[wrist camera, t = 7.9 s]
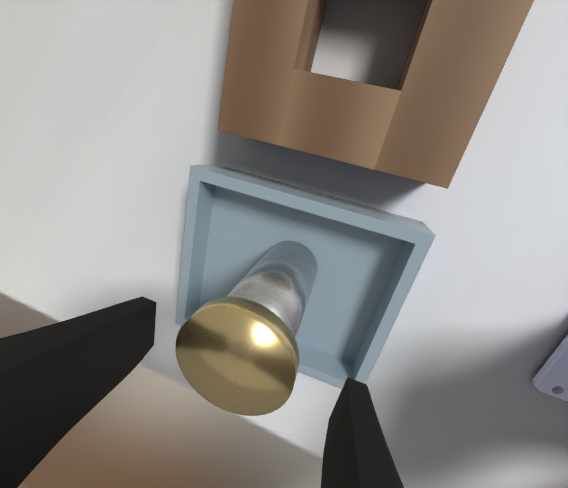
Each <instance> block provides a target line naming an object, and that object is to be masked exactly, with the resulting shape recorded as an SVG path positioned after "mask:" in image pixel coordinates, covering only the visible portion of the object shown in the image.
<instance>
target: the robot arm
mask: <svg viewBox="0 0 568 488" xmlns="http://www.w3.org/2000/svg"><path fill="white" fill-rule="evenodd" d="M155 316H156V302H154V301H152V300H149V299H147V298H144V297H140V298H136V299H132V300H129V301H126V302H123V303H119V304H116V305H113V306H110V307H107V308H104V309H101V310H98V311H95V312H91V313H88V314H85V315H82V316H79V317H76V318H72V319H69V320H66V321H62V322H59V323H55V324H52V325H49V326H45V327H41V328H38V329H34V330H31V331H28V332H24V333H20V334H16V335H12V336H8V337H4V338H0V488H17V487H18V486H19V485H20V484H21V483H22V482H23V480H24V479H25V478H26V477H27V476H28V475H29V474H30V472H31V471H32V470H33V469H34V468H35V467H36V466H37V465H38V464H39V463H40V461H41V460H42V459H43V458H44V457H45V456H46V455H47V453H48V452H49V451H50V450H51V449H52V448H53V447H54V446H55V445H56V444H57V443H58V441H59V440H61V439H62V438H63V437H64V435H65V434H66V433H67V432H68V431H69V430H70V429H71V428H72V427H73V426H74V425H76V423H78V422H79V421H80V420H81V419H82V418H83V417H84V416H85V415H86V414H87V413H88V412H89V411H90V410H91V409H92V408H93V407H94V406H96V405H97V403H99V402H100V401H101V400H102V399H103V398H104V397H105V396H106V395H107V394H108V393H109V392H110V391H111V390H112V389H114V388H115V387H116V386H117V385H118V384H119V383H120V382H121V381H122V380H123V379H124V378H125V377H126V376H127V375H128V374H129V373H130V372H131V371H132V370H133V369H134V368H135V367H136V366H137V365H138V363H139V362H140V361H141V360H142V359H143V358H144V356H145V355H146V354H147V353H148V351H149V350H150V349H151V348H152V347H153V345H154V333H155ZM532 382H533V385H534V386H535V387H536V389H537V390H538V391H540V392H542V393H545V394H547V395H550V396H553V397H556V398H559V399H561V400H564V401H567V402H568V335H567V336H566V337H565V339H564V340H563V341H562V342H561V344H560V345H559V346H558V347H557V349H556V350H555V351H554V353H553V354H552V355H551V356H550V358H549V359H548V360H547V361H546V363H545V364H544V365H543V367H542V368H541V369H540V370H539V372H538V373H537V374H536V376H535V377H534V378H533V380H532ZM556 386H558V387H557V388H554V387H556ZM321 488H404V487H403V484H402V482H401V479H400V477H399V475H398V472H397V470H396V467H395V464H394V462H393V459H392V456H391V454H390V451H389V449H388V446H387V443H386V441H385V438H384V435H383V432H382V429H381V427H380V424H379V421H378V418H377V415H376V412H375V409H374V406H373V402H372V399H371V396H370V393H369V389H368V387H367V385H366V384H364V383H362V382H359V381H357V380H354V379H351V378H349V377H347V379H346V381H345V384H344V386H343V388H342V391H341V393H340V395H339V398H338V400H337V402H336V405H335V407H334V409H333V412H332V414H331V416H330V418H329V423H328V429H327V435H326V441H325V447H324V454H323V466H322V480H321Z"/></svg>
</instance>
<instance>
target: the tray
mask: <svg viewBox="0 0 568 488" xmlns="http://www.w3.org/2000/svg"><path fill="white" fill-rule="evenodd" d="M434 238H435V234H434V233H433V232H432V231H431V230H430V229H429V228H428V227H427V226H426V225H425V224H424V223H423V222H421V221H417V220H413V219H410V218H406V217H403V216H399V215H395V214H392V213H388V212H385V211H381V210H378V209H374V208H370V207H367V206H363V205H360V204H356V203H352V202H349V201H345V200H342V199H338V198H334V197H331V196H327V195H324V194H320V193H316V192H313V191H309V190H306V189H302V188H298V187H295V186H291V185H288V184H284V183H281V182H277V181H273V180H270V179H266V178H263V177H259V176H255V175H252V174H248V173H245V172H241V171H237V170H234V169H230V168H227V167H223V166H219V165H216V164H210V165H195V166H190V176H189V186H188V197H187V207H186V218H185V228H184V239H183V249H182V260H181V270H180V281H179V291H178V302H177V312H176V324H179V325H181V326H183V325H184V323H185V322H186V321H187V320H188V319H189V318H190V317H191V316H192V315H193V314H194V313H195V312H196V311H197V310H198V309H199V308H201V307H202V306H203V305H204V304H206V303H207V302H209V301H211V300H214V299H217V298H222V297H226V296H227V295H228V294H229V293H230V292H231V291H232V290H233V289H234V288H235V287H236V285H237V284H238V283H239V282H240V281H241V280H242V279H243V278H244V277H245V276H246V275H247V273H248V272H249V271H250V270H251V269H252V268H253V267H254V266H255V265H256V264H257V262H258V261H259V260H260V259H261V258H262V257H263V256H264V255H265V254H266V253H267V251H268V250H269V249H270V248H271V247H272V246H273V245H275V244H277V243H279V242H282V241H295V242H298V243H301V244H303V245H305V246H306V247H307V248H308V249H310V251H311V252H312V253H313V255H314V256H315V258H316V261H317V265H318V271H317V276H316V279H315V282H314V285H313V288H312V291H311V294H310V297H309V300H308V303H307V306H306V309H305V312H304V315H303V318H302V321H301V324H300V327H299V330H298V333H297V336H296V339H295V340H296V343H297V346H298V350H299V358H300V359H299V368H298V372H300V373H303V374H305V375H308V376H310V377H313V378H315V379H318V380H320V381H323V382H325V383H328V384H330V385H333V386H336V387H338V388H341V389H342V388H343V386H344V384H345V381H346V379H347V377H349V378H351V379H354V380H357V381H359V382H362V383H364V384H366V382H367V380H368V378H369V376H370V373H371V371H372V369H373V367H374V365H375V363H376V361H377V359H378V356H379V354H380V352H381V350H382V348H383V346H384V344H385V342H386V339H387V337H388V335H389V333H390V331H391V329H392V327H393V325H394V322H395V320H396V318H397V316H398V314H399V312H400V310H401V308H402V306H403V303H404V301H405V299H406V297H407V295H408V293H409V291H410V289H411V286H412V284H413V282H414V280H415V278H416V276H417V274H418V272H419V269H420V267H421V265H422V263H423V261H424V259H425V257H426V255H427V252H428V250H429V248H430V246H431V244H432V242H433V240H434Z"/></svg>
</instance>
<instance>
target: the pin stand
mask: <svg viewBox="0 0 568 488" xmlns="http://www.w3.org/2000/svg"><path fill="white" fill-rule="evenodd" d="M326 1H327V0H234V5H233V13H232V20H231V28H230V36H229V44H228V52H227V60H226V68H225V76H224V84H223V92H222V100H221V108H220V116H219V124H218V130H220V131H224V132H228V133H232V134H236V135H240V136H244V137H248V138H252V139H255V140H259V141H263V142H267V143H271V144H275V145H279V146H283V147H287V148H291V149H295V150H299V151H303V152H306V153H310V154H314V155H318V156H322V157H326V158H330V159H334V160H338V161H342V162H346V163H350V164H354V165H357V166H361V167H365V168H369V169H373V170H377V171H381V172H385V173H389V174H393V175H397V176H401V177H405V178H408V179H412V180H416V181H420V182H424V183H428V184H432V185H436V186H440V187H444V188H448V187H449V185H450V183H451V180H452V178H453V176H454V174H455V172H456V169H457V167H458V165H459V163H460V161H461V159H462V156H463V154H464V152H465V150H466V148H467V145H468V143H469V141H470V139H471V137H472V134H473V132H474V130H475V128H476V126H477V124H478V121H479V119H480V117H481V115H482V113H483V110H484V108H485V106H486V104H487V102H488V99H489V97H490V95H491V93H492V91H493V89H494V86H495V84H496V82H497V80H498V78H499V75H500V73H501V71H502V69H503V67H504V65H505V62H506V60H507V58H508V56H509V54H510V51H511V49H512V47H513V45H514V43H515V40H516V38H517V36H518V34H519V32H520V30H521V27H522V25H523V23H524V21H525V19H526V16H527V14H528V12H529V10H530V8H531V6H532V3H533V1H534V0H427V3H426V6H425V9H424V12H423V15H422V18H421V21H420V23H419V26H418V29H417V32H416V35H415V38H414V41H413V44H412V47H411V50H410V53H409V56H408V59H407V62H406V65H405V68H404V71H403V73H402V76H401V79H400V82H399V85H398V88H397V90H395V89H390V88H385V87H380V86H375V85H370V84H365V83H360V82H356V81H351V80H346V79H341V78H336V77H331V76H326V75H321V74H316V73H311V72H310V71H311V67H312V63H313V58H314V54H315V50H316V45H317V41H318V36H319V32H320V28H321V23H322V19H323V15H324V10H325V6H326Z"/></svg>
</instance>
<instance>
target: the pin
mask: <svg viewBox="0 0 568 488" xmlns="http://www.w3.org/2000/svg"><path fill="white" fill-rule="evenodd" d="M317 271H318V265H317V261H316V258H315V256H314V255H313V253H312V252H311V251H310V249H308V248H307V247H306V246H305V245H303V244H301V243H298V242H295V241H282V242H279V243H277V244H275V245H273V246H272V247H271V248H270V249H269V250H268V251H267V253H266V254H265V255H264V256H263V257H262V258H261V259H260V260H259V261H258V262H257V264H256V265H255V266H254V267H253V268H252V269H251V270H250V271H249V272H248V273H247V275H246V276H245V277H244V278H243V279H242V280H241V281H240V282H239V283H238V284H237V285H236V287H235V288H234V289H233V290H232V291H231V292H230V293H229V294H228V295H227V296H226V297H222V298H217V299H214V300H211V301H209V302H207V303H206V304H204V305H203V306H202V307H201V308H199V309H198V310H197V311H196V312H195V313H194V314H193V315H192V316H191V317H190V318H189V319H188V320H187V321H186V322H185V323H184V325H183V326H182V327H181V329H180V331H179V333H178V336H177V339H176V356H177V360H178V364H179V366H180V369H181V371H182V373H183V375H184V376H185V378H186V379H187V381H188V382H189V383H190V385H191V386H192V387H193V388H194V389H195V390H196V391H197V392H198V393H199V394H200V395H201V396H202V397H203V398H205V399H206V400H208V401H209V402H210V403H212V404H214V405H215V406H217V407H219V408H221V409H224V410H226V411H229V412H232V413H235V414H240V415H248V416H257V415H264V414H268V413H271V412H273V411H275V410H277V409H278V408H280V407H281V406H282V405H283V404H284V403H285V402H286V401H287V400H288V398H289V397H290V395H291V392H292V390H293V386H294V382H295V379H296V375H297V372H298V368H299V359H300V358H299V350H298V346H297V343H296V340H295V339H296V336H297V333H298V330H299V327H300V324H301V321H302V318H303V315H304V312H305V309H306V306H307V303H308V300H309V297H310V294H311V291H312V288H313V285H314V282H315V279H316V276H317Z"/></svg>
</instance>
